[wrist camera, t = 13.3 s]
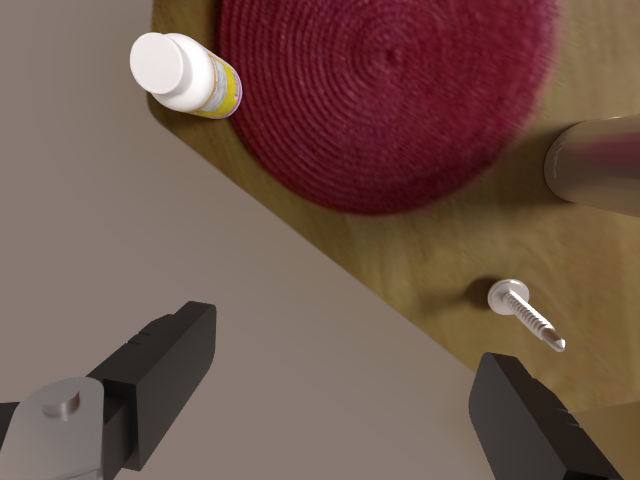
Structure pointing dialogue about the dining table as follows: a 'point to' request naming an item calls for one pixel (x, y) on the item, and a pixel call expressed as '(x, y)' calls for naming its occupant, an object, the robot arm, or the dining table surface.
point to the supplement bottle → (185, 75)
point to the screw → (522, 310)
